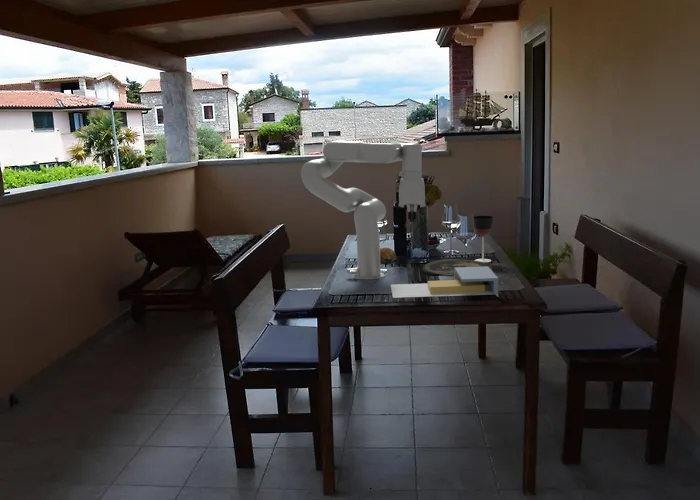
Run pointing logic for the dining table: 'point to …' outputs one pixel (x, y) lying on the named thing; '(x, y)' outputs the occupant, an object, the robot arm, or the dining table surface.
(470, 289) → the ochre panel
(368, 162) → the robot arm
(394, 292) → the overhang dock
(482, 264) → the decorative plate
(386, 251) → the bread roll
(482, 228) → the wineglass
